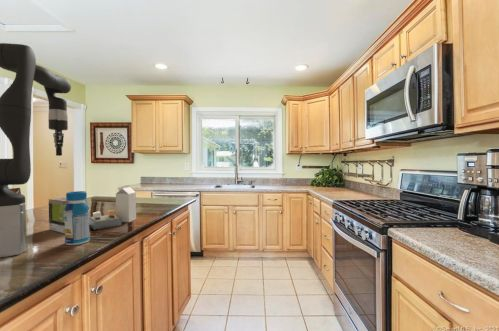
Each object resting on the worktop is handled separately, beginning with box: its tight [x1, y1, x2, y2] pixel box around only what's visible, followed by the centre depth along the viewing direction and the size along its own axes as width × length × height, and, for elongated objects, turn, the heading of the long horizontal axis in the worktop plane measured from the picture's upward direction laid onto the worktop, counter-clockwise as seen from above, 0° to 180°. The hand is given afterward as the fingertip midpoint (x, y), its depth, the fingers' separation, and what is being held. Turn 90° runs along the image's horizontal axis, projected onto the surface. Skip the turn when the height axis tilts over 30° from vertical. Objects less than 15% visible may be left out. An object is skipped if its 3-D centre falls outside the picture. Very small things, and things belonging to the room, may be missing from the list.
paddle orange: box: [106, 209, 116, 215], centre depth 134 cm, size 4×3×2 cm
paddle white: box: [92, 210, 103, 218], centre depth 130 cm, size 4×3×2 cm
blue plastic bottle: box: [64, 190, 91, 246], centre depth 104 cm, size 8×8×20 cm
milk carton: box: [115, 184, 137, 223], centre depth 141 cm, size 7×7×19 cm
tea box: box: [48, 196, 87, 234], centre depth 124 cm, size 15×10×15 cm, turn 58°
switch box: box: [89, 214, 122, 231], centre depth 132 cm, size 14×12×4 cm
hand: (59, 155), depth 128 cm, fingers closed
